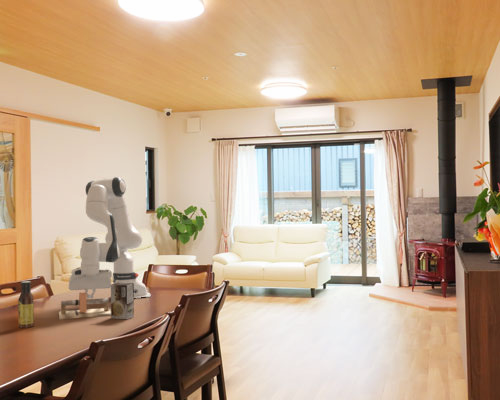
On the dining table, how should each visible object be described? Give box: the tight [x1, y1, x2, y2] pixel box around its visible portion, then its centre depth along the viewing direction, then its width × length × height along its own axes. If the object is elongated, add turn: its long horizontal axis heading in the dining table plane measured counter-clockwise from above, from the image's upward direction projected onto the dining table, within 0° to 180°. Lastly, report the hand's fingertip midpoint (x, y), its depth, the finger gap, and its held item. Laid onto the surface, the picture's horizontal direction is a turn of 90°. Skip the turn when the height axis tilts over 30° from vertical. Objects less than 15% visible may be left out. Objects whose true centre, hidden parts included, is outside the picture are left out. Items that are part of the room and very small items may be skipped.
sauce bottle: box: [17, 280, 35, 329], centre depth 234 cm, size 7×6×20 cm
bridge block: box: [78, 292, 88, 312], centre depth 259 cm, size 3×8×8 cm, turn 21°
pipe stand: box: [58, 297, 111, 320], centre depth 260 cm, size 24×14×7 cm, turn 111°
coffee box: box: [110, 283, 135, 320], centre depth 252 cm, size 9×6×16 cm
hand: (90, 298), depth 263 cm, fingers closed
